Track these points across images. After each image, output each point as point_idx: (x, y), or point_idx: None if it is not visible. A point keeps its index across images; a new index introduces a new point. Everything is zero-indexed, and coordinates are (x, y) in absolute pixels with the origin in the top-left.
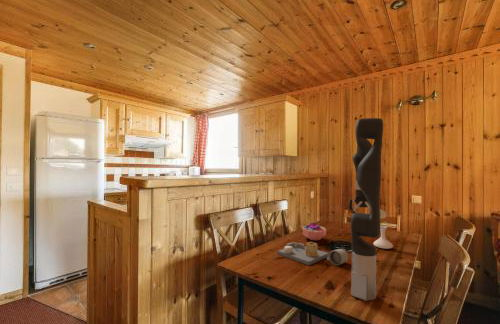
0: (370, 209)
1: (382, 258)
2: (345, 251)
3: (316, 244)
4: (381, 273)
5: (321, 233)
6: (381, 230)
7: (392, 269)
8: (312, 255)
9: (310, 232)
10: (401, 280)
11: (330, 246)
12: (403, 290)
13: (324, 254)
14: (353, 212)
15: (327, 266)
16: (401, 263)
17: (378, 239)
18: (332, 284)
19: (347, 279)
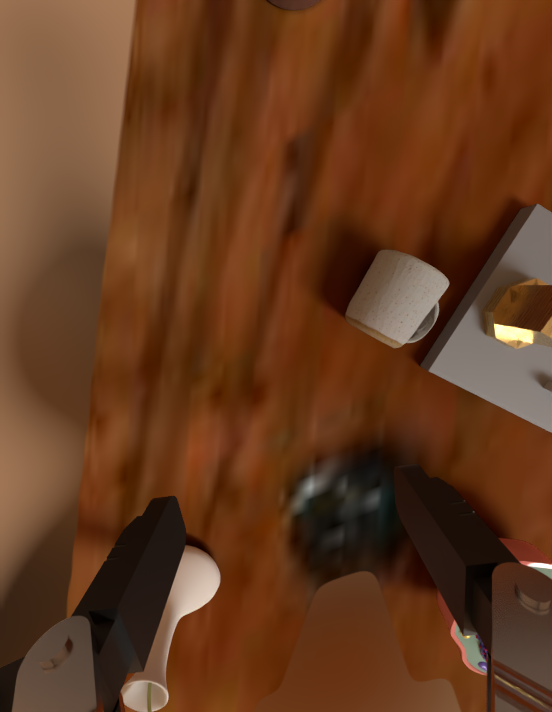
0: (76, 703)
1: (193, 435)
2: (367, 321)
3: (542, 322)
4: (205, 253)
5: None
6: (162, 658)
7: (160, 321)
8: (519, 281)
9: (536, 558)
10: (131, 206)
11: None
12: (129, 89)
13: (449, 343)
14: (484, 544)
15: (432, 236)
16: (122, 407)
17: (193, 600)
18: (424, 8)
19: (352, 108)
